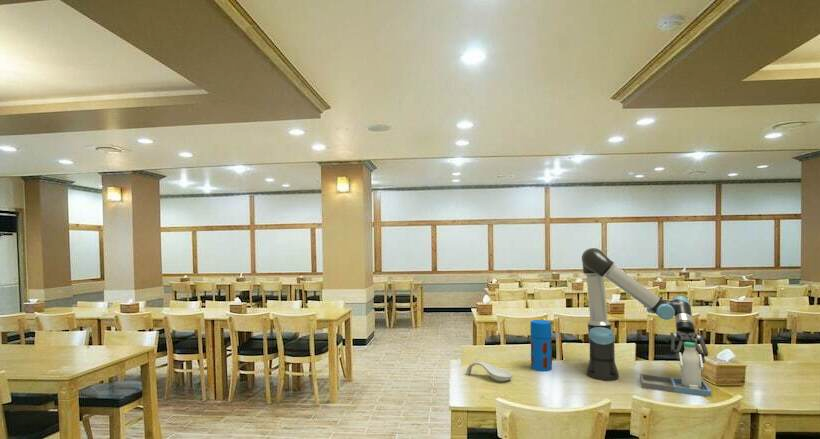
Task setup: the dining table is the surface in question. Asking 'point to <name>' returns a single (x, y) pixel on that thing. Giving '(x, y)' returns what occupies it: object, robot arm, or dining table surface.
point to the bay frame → (673, 385)
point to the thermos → (541, 345)
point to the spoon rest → (492, 371)
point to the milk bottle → (690, 366)
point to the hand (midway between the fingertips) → (691, 367)
